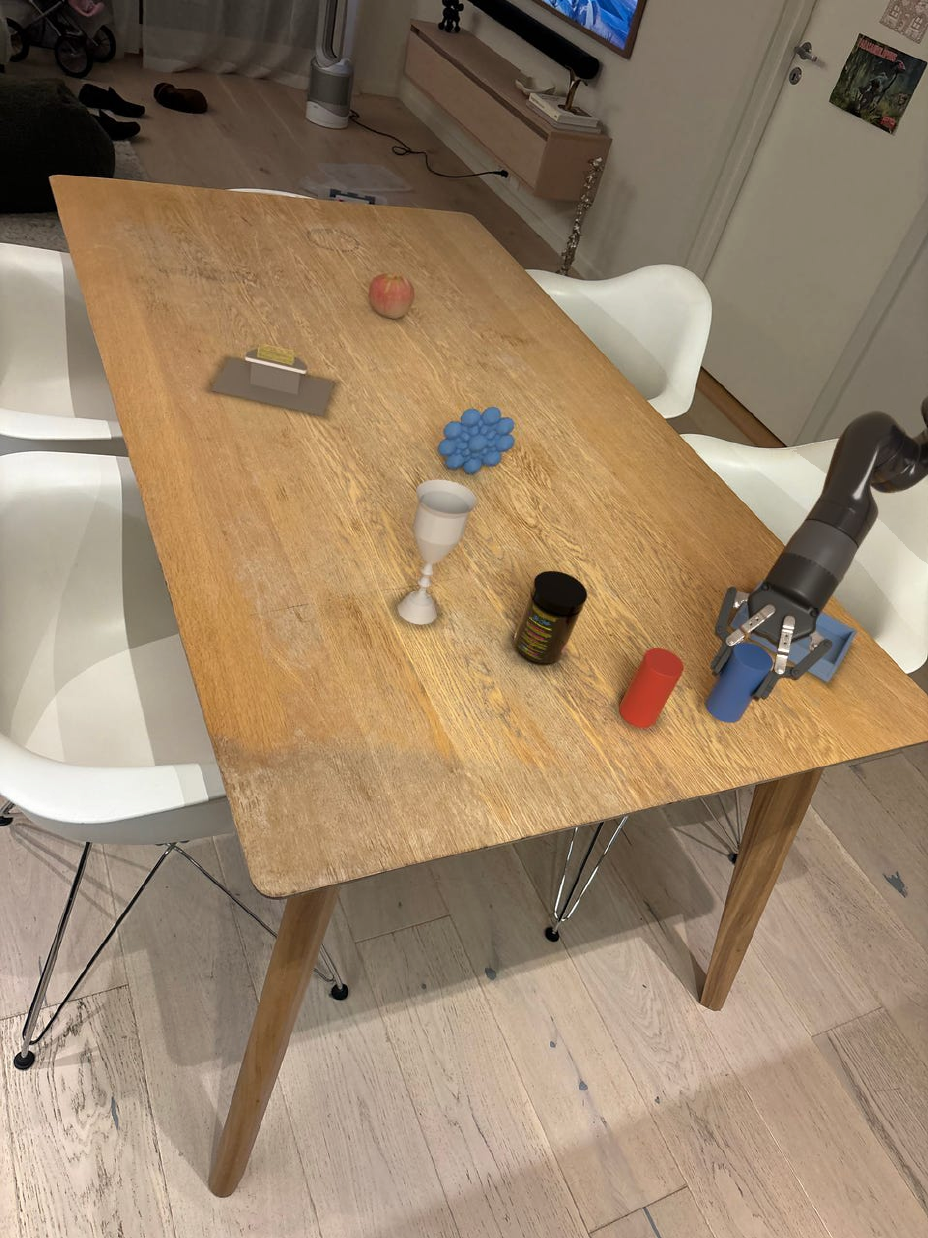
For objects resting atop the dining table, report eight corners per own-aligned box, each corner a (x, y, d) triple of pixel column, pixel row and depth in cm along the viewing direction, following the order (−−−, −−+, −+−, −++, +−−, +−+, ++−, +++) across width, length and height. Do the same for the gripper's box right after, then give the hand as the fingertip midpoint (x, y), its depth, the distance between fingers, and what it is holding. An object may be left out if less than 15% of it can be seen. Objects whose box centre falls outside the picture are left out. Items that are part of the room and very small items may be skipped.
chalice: (397, 630, 114) (425, 514, 103) (383, 594, 119) (409, 479, 107) (451, 627, 117) (485, 513, 105) (436, 592, 122) (466, 479, 110)
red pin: (662, 713, 114) (690, 662, 108) (646, 734, 111) (674, 682, 105) (629, 693, 115) (654, 641, 110) (612, 712, 112) (638, 660, 106)
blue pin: (747, 708, 114) (778, 657, 108) (733, 729, 111) (765, 677, 105) (712, 688, 116) (742, 636, 110) (698, 708, 112) (728, 655, 106)
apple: (397, 328, 180) (405, 289, 174) (357, 312, 181) (364, 272, 176) (416, 316, 186) (424, 277, 181) (378, 300, 188) (384, 261, 182)
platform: (229, 358, 156) (232, 321, 152) (334, 382, 158) (339, 347, 154) (211, 390, 147) (213, 352, 142) (322, 416, 149) (327, 379, 144)
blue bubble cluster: (500, 463, 150) (519, 398, 143) (505, 486, 145) (525, 420, 138) (430, 453, 148) (446, 386, 140) (433, 476, 143) (450, 408, 135)
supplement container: (559, 675, 115) (584, 613, 108) (507, 659, 115) (530, 596, 108) (564, 641, 120) (589, 580, 114) (515, 626, 120) (537, 564, 114)
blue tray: (848, 645, 134) (857, 631, 132) (827, 682, 126) (837, 668, 125) (754, 592, 139) (762, 578, 137) (729, 626, 131) (737, 611, 129)
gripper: (758, 529, 108) (681, 651, 107) (872, 589, 103) (793, 717, 103) (754, 547, 115) (681, 661, 114) (861, 604, 111) (786, 723, 110)
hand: (735, 687), depth 108 cm, fingers closed on blue pin, 4 cm apart
